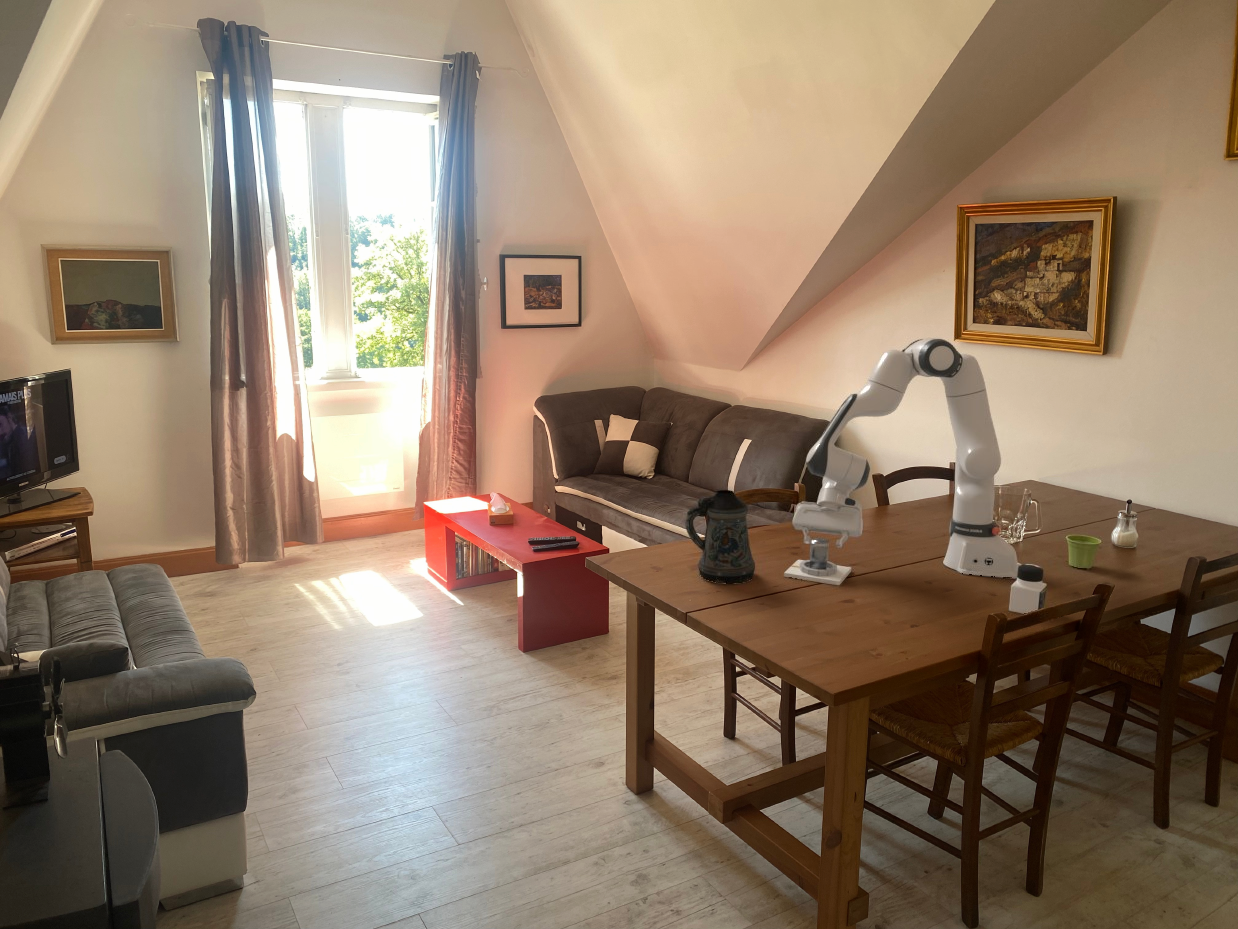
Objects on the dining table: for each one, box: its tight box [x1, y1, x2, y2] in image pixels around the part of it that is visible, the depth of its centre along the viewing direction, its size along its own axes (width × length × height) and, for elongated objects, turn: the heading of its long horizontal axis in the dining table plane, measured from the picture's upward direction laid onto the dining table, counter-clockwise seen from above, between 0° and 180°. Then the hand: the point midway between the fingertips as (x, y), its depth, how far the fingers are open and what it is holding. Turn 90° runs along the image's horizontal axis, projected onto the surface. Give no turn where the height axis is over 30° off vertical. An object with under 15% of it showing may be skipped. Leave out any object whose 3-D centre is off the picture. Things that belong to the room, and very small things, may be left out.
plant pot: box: [1065, 534, 1102, 568], centre depth 270 cm, size 9×9×9 cm
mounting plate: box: [783, 559, 852, 586], centre depth 263 cm, size 16×14×3 cm
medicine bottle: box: [1008, 563, 1047, 615], centre depth 234 cm, size 7×7×12 cm
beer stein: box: [684, 489, 756, 585], centre depth 258 cm, size 16×19×25 cm
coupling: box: [809, 537, 830, 570], centre depth 262 cm, size 5×5×9 cm
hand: (822, 544), depth 263 cm, fingers open, 8 cm apart
